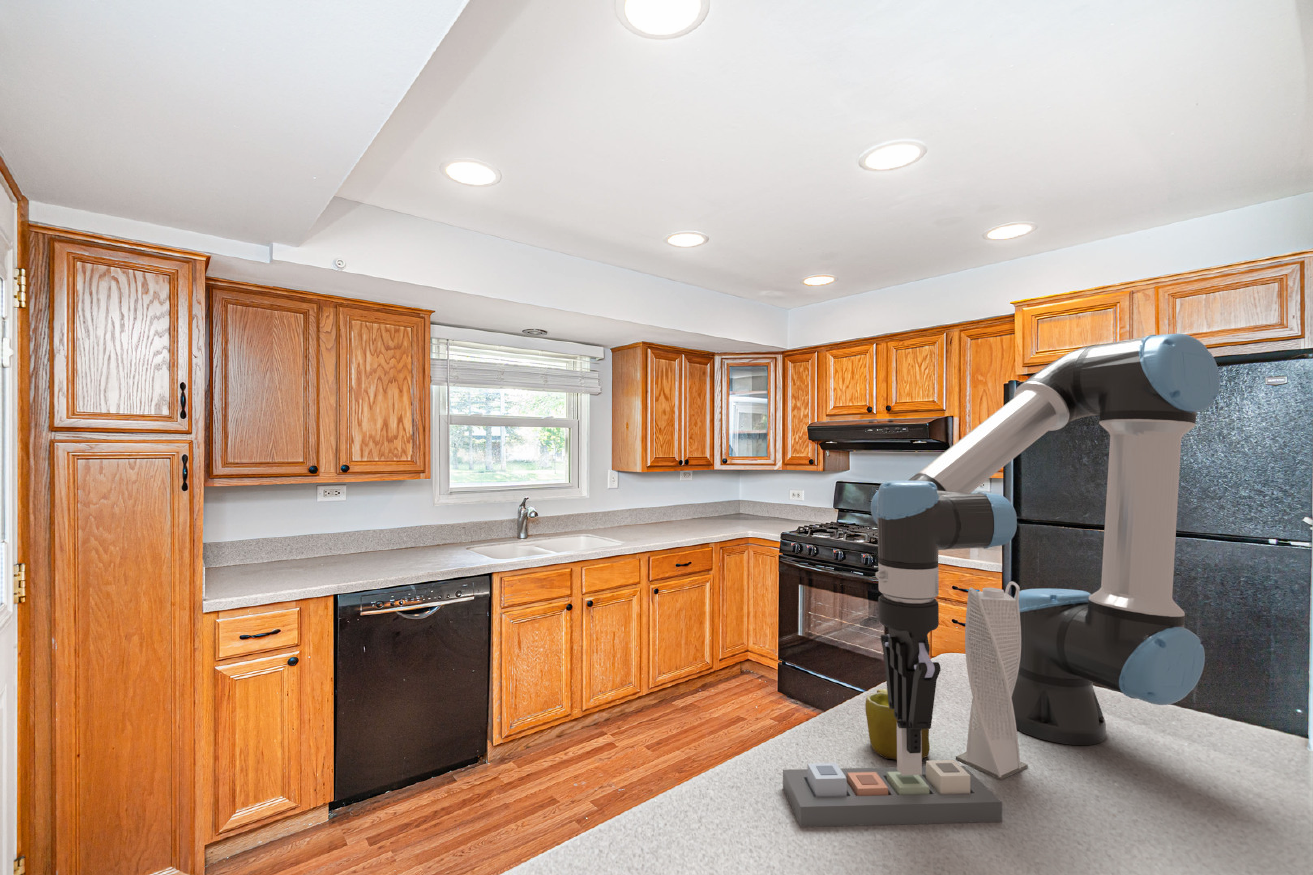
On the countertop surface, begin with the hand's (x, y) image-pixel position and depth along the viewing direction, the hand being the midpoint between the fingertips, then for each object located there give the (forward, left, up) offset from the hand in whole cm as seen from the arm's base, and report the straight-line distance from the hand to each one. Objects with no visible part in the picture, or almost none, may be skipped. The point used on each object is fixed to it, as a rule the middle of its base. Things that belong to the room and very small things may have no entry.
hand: (909, 771), depth 85 cm
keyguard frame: (+3, 0, -4) cm, 5 cm away
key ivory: (-5, 0, -3) cm, 6 cm away
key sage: (0, 0, -4) cm, 4 cm away
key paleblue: (+11, 0, -3) cm, 12 cm away
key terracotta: (+6, 0, -4) cm, 7 cm away
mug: (-5, -16, -4) cm, 17 cm away
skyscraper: (-17, -9, -4) cm, 20 cm away
